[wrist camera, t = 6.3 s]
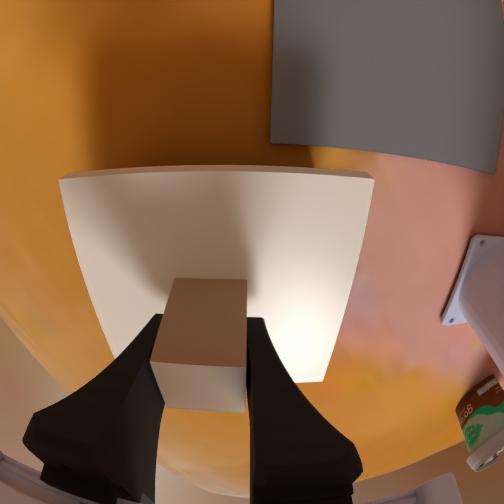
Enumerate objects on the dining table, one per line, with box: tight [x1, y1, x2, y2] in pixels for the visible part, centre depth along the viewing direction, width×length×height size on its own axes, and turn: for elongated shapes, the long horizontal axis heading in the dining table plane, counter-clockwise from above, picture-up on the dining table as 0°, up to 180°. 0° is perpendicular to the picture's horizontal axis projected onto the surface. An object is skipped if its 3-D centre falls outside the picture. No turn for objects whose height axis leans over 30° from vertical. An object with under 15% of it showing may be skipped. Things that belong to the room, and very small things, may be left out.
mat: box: [270, 0, 504, 175], centre depth 11 cm, size 15×15×1 cm
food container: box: [456, 374, 504, 472], centre depth 25 cm, size 12×6×10 cm, turn 21°
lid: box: [59, 165, 375, 412], centre depth 12 cm, size 12×12×5 cm
